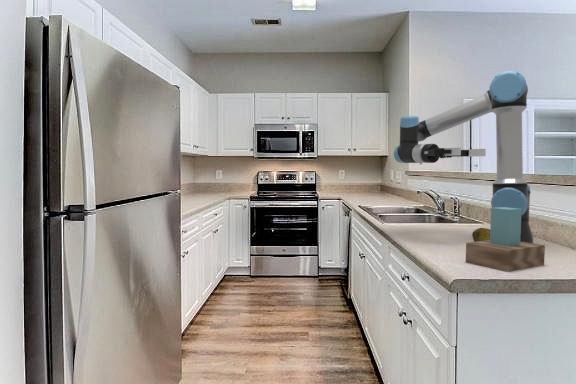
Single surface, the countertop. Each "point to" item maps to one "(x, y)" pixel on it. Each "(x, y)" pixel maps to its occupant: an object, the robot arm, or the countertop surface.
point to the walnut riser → (505, 255)
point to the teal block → (505, 226)
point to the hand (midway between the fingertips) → (472, 152)
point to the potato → (481, 234)
